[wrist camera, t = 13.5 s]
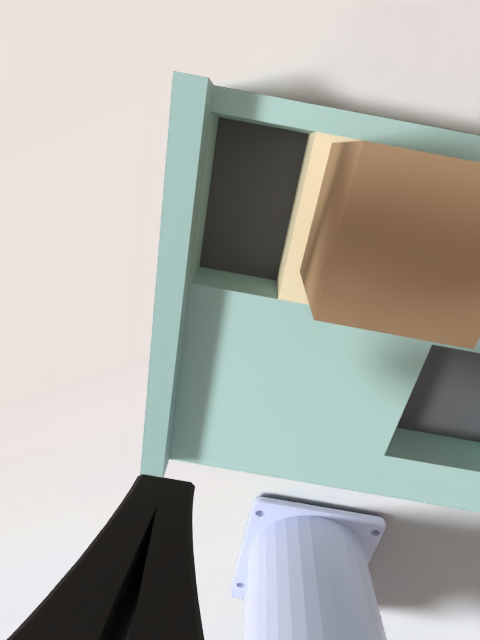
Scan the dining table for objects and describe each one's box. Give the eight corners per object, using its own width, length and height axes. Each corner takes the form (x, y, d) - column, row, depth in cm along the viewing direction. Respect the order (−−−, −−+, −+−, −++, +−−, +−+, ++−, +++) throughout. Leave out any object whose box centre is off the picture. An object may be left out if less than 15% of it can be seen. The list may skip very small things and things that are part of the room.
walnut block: (414, 292, 15) (473, 349, 11) (299, 271, 15) (313, 320, 10) (463, 168, 13) (558, 178, 9) (331, 142, 13) (363, 140, 9)
